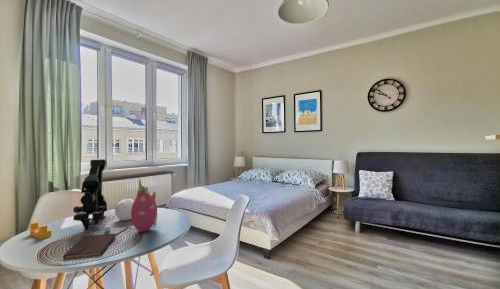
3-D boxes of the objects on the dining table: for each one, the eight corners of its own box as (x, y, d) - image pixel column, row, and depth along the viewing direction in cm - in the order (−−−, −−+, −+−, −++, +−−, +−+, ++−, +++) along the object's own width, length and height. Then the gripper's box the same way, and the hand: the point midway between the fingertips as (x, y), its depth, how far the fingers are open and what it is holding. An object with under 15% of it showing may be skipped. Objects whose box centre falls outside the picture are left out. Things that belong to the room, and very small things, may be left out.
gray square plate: (104, 227, 138) (104, 221, 138) (126, 228, 137) (126, 222, 136) (85, 237, 124) (85, 230, 124) (110, 238, 123) (110, 232, 123)
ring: (90, 226, 139) (90, 222, 139) (100, 227, 139) (100, 222, 138) (81, 231, 133) (81, 226, 133) (92, 231, 132) (92, 226, 132)
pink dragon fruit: (156, 235, 127) (156, 180, 126) (128, 238, 123) (128, 182, 122) (158, 224, 144) (158, 176, 143) (134, 226, 140) (133, 177, 139)
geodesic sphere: (128, 205, 164) (119, 192, 155) (146, 206, 162) (138, 192, 153) (115, 224, 153) (105, 210, 144) (135, 225, 150) (126, 212, 142)
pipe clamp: (51, 236, 126) (51, 224, 126) (41, 239, 122) (41, 227, 122) (40, 232, 131) (40, 220, 131) (30, 235, 127) (30, 223, 127)
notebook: (115, 236, 124) (115, 232, 124) (102, 255, 105) (101, 250, 105) (83, 239, 121) (83, 235, 120) (63, 259, 101) (63, 254, 101)
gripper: (90, 196, 145) (91, 221, 146) (64, 204, 127) (64, 233, 127) (107, 197, 144) (107, 222, 145) (83, 205, 126) (83, 234, 126)
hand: (91, 227), depth 136 cm, fingers closed on ring, 7 cm apart
